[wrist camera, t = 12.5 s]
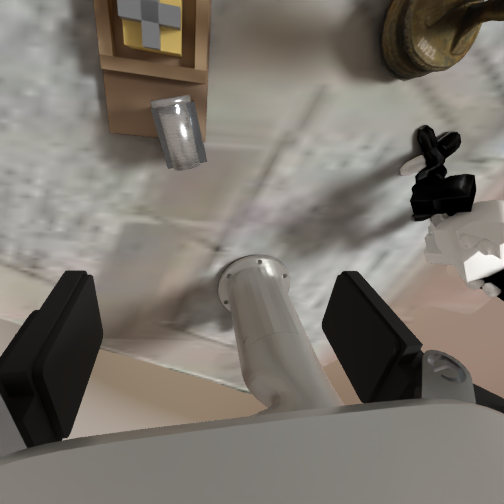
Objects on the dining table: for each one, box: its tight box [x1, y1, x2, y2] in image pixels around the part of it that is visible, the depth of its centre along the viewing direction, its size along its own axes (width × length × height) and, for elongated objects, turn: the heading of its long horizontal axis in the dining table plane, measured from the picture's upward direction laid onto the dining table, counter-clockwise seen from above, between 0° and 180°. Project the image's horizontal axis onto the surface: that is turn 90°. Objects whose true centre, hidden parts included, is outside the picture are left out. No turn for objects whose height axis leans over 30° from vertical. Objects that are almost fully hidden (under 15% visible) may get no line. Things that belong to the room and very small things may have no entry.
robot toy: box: [400, 125, 504, 301], centre depth 38 cm, size 19×14×20 cm
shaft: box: [150, 95, 207, 170], centre depth 31 cm, size 7×4×9 cm, turn 8°
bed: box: [93, 0, 211, 142], centre depth 28 cm, size 22×11×3 cm, turn 173°
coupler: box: [117, 0, 182, 57], centre depth 26 cm, size 5×5×6 cm
